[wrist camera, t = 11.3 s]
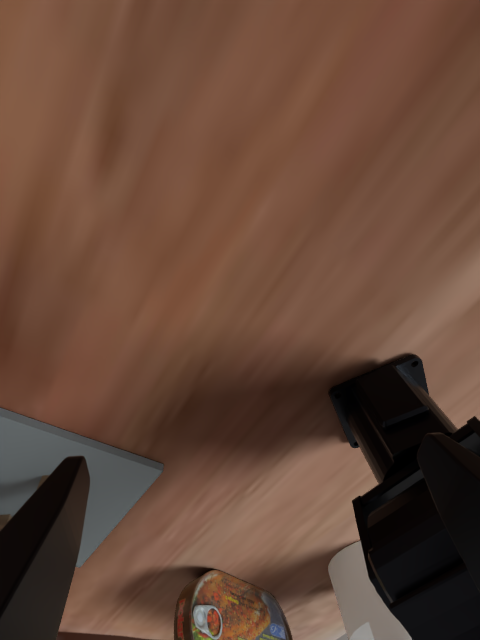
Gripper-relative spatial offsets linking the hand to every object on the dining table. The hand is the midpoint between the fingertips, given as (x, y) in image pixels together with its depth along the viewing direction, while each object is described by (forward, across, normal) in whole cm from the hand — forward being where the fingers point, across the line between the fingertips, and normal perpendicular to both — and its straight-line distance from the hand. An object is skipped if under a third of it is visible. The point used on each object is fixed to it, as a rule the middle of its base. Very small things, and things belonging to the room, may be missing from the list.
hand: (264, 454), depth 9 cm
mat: (+12, +14, +17) cm, 25 cm away
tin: (+12, -2, +35) cm, 37 cm away
